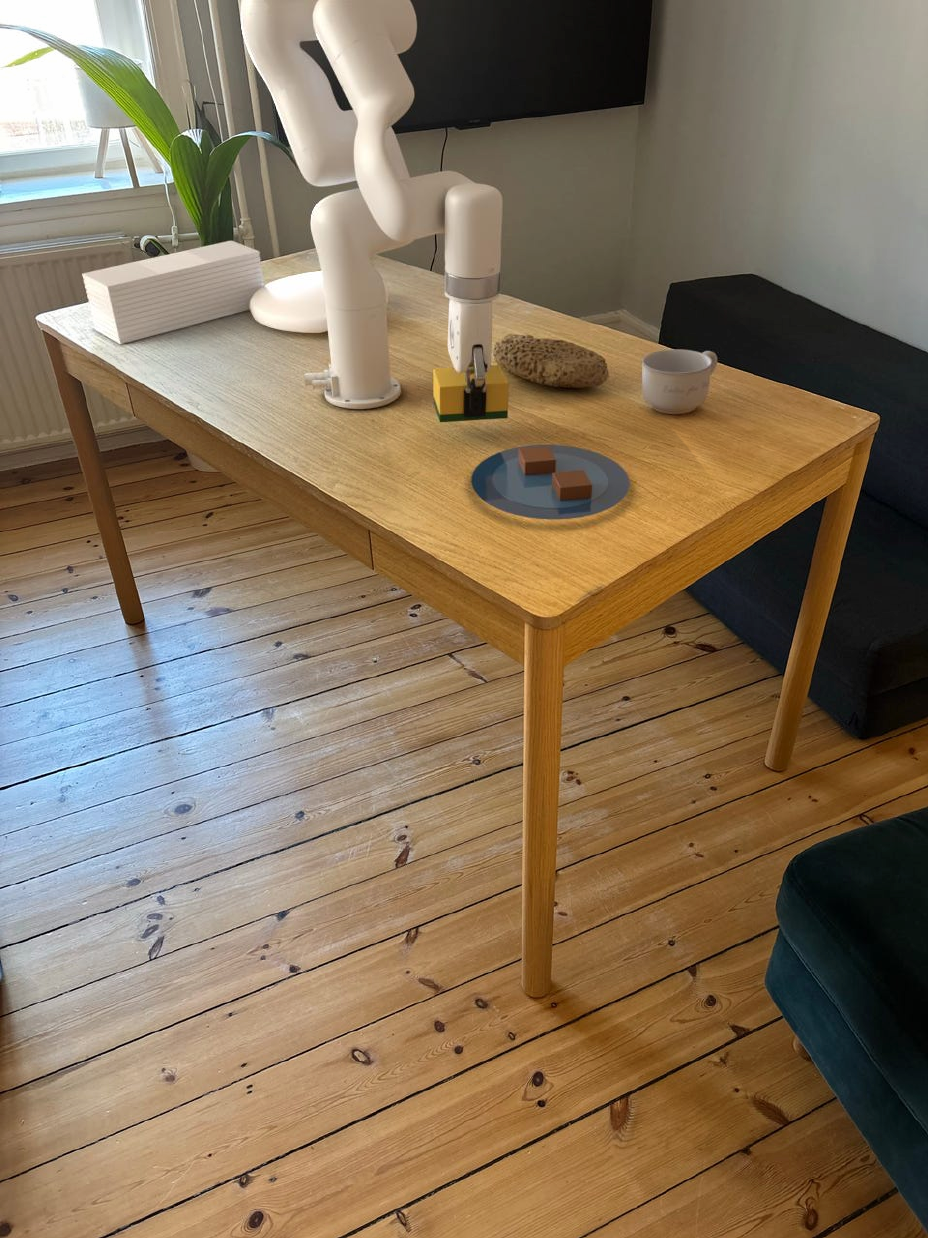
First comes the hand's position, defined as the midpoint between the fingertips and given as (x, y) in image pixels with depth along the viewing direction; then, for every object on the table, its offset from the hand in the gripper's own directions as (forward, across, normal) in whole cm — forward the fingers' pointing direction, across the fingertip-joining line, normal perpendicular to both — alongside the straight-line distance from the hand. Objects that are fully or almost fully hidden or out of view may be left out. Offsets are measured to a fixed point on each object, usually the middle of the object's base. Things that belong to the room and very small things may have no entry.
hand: (470, 404), depth 145 cm
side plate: (+6, +16, +9) cm, 19 cm away
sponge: (+7, -21, +18) cm, 28 cm away
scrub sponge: (+1, 0, 0) cm, 1 cm away
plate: (+9, -62, -19) cm, 66 cm away
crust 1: (+5, +12, +8) cm, 15 cm away
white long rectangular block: (+9, -66, -46) cm, 81 cm away
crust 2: (+4, +20, +11) cm, 23 cm away
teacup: (+6, -7, +36) cm, 37 cm away
